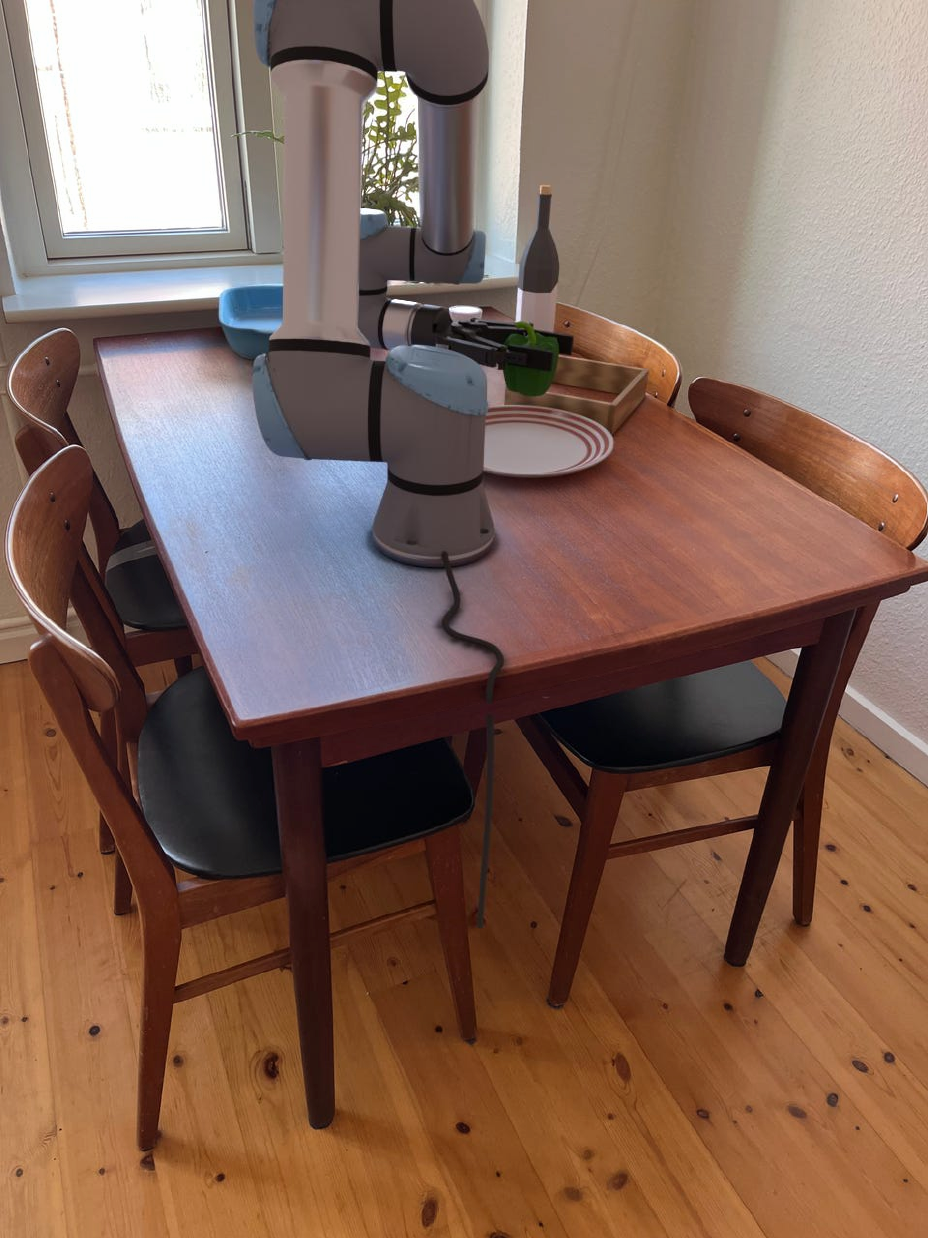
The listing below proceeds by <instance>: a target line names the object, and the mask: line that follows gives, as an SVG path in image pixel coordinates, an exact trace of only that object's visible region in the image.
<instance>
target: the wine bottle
mask: <svg viewBox="0 0 928 1238" xmlns="http://www.w3.org/2000/svg"><path fill="white" fill-rule="evenodd" d="M551 192H552V186H551V185H549V184H540V186H539V193H538V194H537V197H538V200H537V211H536V213H537V214H536V227H535V229H534V230H533V232H532V234H531V236H530V237H529V239H528V240H527V243H525V247H524V249H523V251H522V254H521V258H520V261H519V269H518V279H517V280H518V281H517V295H516V309H515V310H516V311H515V323H516V322H520V321H522V322H526V323H529V322H530V323H533V329H535V330H541V331H547V332H554V331H555V321H556V311H557V299H558V286H559V278H560V277H559V276H560V260H559V254H558V250H557V246H556V243H555V240H554V238H553V236H552V233H551V230H550V218H551V204H552V197H553V194H552V193H551ZM554 333H555V332H554ZM524 334H525V333H524Z"/></svg>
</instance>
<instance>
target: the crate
mask: <svg viewBox="0 0 928 1238" xmlns="http://www.w3.org/2000/svg"><path fill="white" fill-rule="evenodd" d="M649 375H650V369H648V368H643V367H636V366H631V365H624V364H618V363H611V362H605V361H599V360H594V359H586V358H582V357H581V358H580V357H575V356H570V355H564V354H559V356H558V364H557V369H556V372H555V375H554V378H553V381H552V383H555V384H560V385H564V386H565V385H566V386H572V387H576V388H583V389H588V390H595V391H600V392H606V393H612V394H618V395H617V397H616V398H615V399H614V400H613V401H612V402H608V401H604V400H603V401H602V400H597V399H591V398H586V397H579V396H574V395H569V394H563V393H557V392H552V391H547V392H546V393H545V394H543V395H541V396H535V397H533V396H524V395H522V394H520V393H518V392H513V391H509V390H508V388H507V386H506V385H505V386H504V387H505V388H504V400H503V401H504V402H503V403H501V405H529V406H539V407H547V408H553V409H559V410H563V411H567V412H571V413H575V414H578V415H581V416H584V417H586V418H589V419H591V420H593V421H595V422H597V423H598V424H600V425H602V426H603V427H604V428H605V429H607V430H608V431H609V433H610V434H611V436H613V435H614V434H615V432H617V430H618V429H619V428H620V427H621V425H622V424H623V423H624V422H625V421H626V419H627V418H628V417H629V416H630V415H631V414H632V413H633V411H634V410H635V409H636V408H637V407H638V406H639V404H641V402H642V401H643V400H644V399H645V398H646V395H647V388H648V381H649Z"/></svg>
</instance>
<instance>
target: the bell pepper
mask: <svg viewBox="0 0 928 1238" xmlns="http://www.w3.org/2000/svg"><path fill="white" fill-rule="evenodd" d="M514 323H515V326H516V328H517V329H519V328H524V329H526V330H527V332H528V335H527V336H525V337H524V336H523V335H520V334H511V335H510V336H509V337H508V339H506V341H505V343H504V346H506V347H507V348H506V350H508V345H510V344H513V345H519V346H525V347H531V348H537V349H543V350H550V351H554V355H553V366H552V371H551V372H548V371H542V370H537V369H531V368H525V367H519V366H513V365H507V362H506V363H505V370H502V374H503V378H504V382H505V386H507V388H508V390H509V391H513V392H518V393H520V394H522V395H524V396H533V397H535V396H541V395H543V394H545V393H546V392H549V389H550V388H551V386H552V383H553V382H552V381H553V378H554V375H555V372H556V369H557V364H558V356H559V355H560V354H559V345H558V341H557V338H556V337H544V336H543V335H541V334H539V333H534V329H533V327H532V326H531V325H530V324H529V323H526V322H522V321H520V322H516V321H515V322H514Z"/></svg>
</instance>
